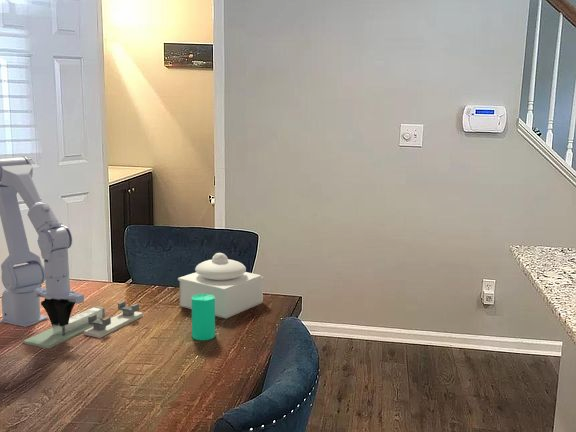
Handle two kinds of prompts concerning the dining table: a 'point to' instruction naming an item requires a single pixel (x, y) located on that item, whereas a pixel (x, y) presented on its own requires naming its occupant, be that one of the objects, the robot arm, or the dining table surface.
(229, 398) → the dining table surface
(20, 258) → the robot arm
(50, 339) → the mat
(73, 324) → the rail
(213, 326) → the candle
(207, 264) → the butter dish
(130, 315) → the standards
